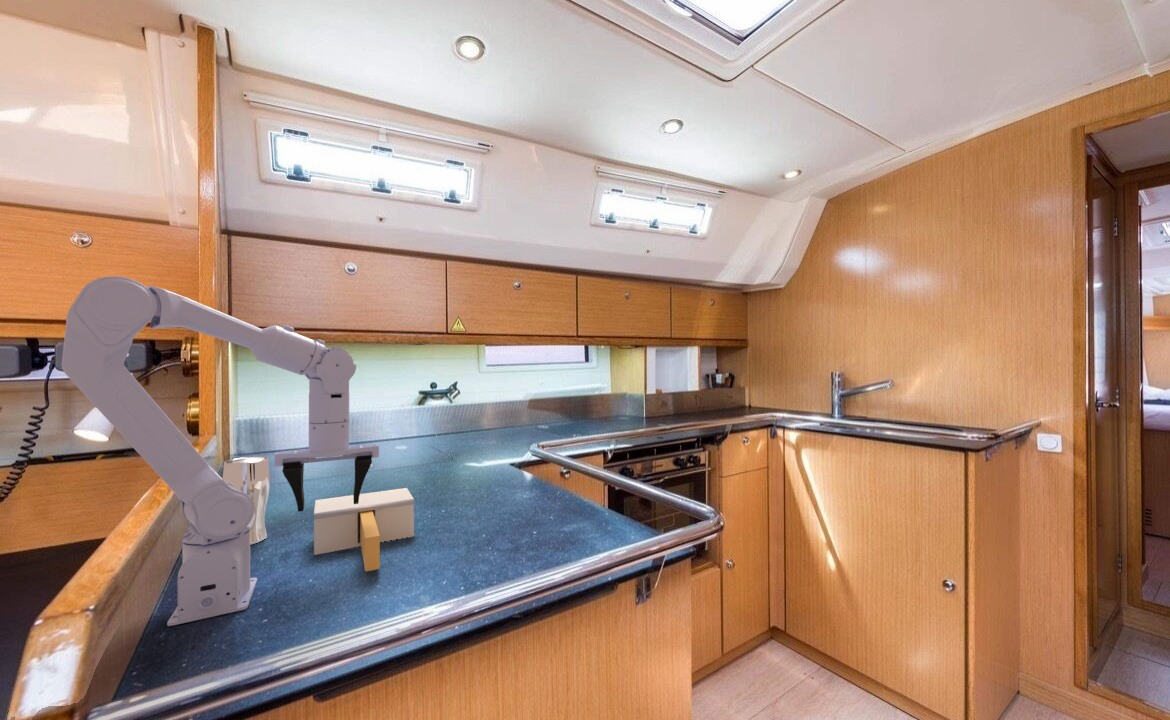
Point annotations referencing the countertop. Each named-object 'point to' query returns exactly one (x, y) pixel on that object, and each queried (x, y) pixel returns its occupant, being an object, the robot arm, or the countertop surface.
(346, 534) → the dispenser
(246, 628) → the countertop surface
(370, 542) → the tab
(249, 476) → the beer glass
